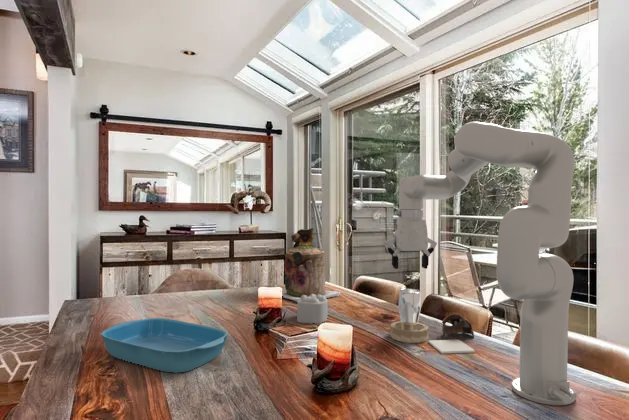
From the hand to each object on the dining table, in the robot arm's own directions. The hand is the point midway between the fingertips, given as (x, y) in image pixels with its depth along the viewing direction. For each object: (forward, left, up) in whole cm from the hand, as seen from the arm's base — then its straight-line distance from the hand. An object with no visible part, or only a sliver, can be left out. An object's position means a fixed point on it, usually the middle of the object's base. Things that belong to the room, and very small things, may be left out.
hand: (410, 268), depth 137 cm
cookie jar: (+65, +27, -23) cm, 74 cm away
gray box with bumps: (+25, +28, -23) cm, 44 cm away
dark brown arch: (0, -17, -23) cm, 28 cm away
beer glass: (0, 0, -23) cm, 23 cm away
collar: (0, 0, -22) cm, 22 cm away
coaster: (-11, -9, -22) cm, 26 cm away
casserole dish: (-10, +74, -23) cm, 78 cm away
